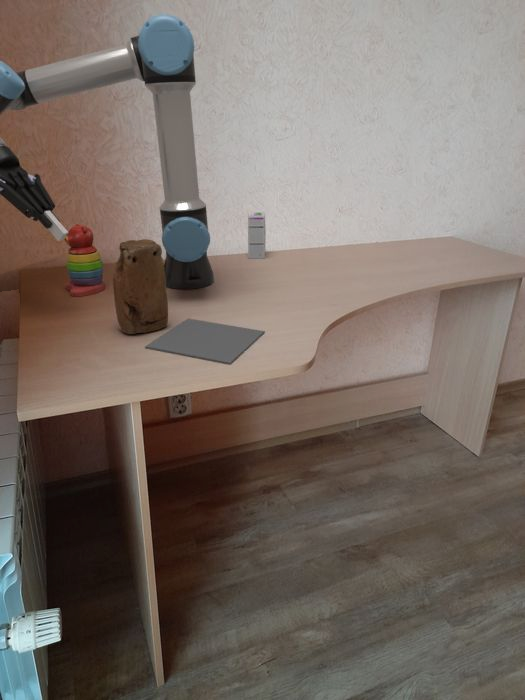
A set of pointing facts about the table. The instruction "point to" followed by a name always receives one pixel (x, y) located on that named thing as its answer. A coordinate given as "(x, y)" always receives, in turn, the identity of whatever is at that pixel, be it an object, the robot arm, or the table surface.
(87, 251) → the stacking bear
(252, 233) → the syrup box
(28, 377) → the table surface
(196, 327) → the mat
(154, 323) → the block
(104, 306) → the table surface
